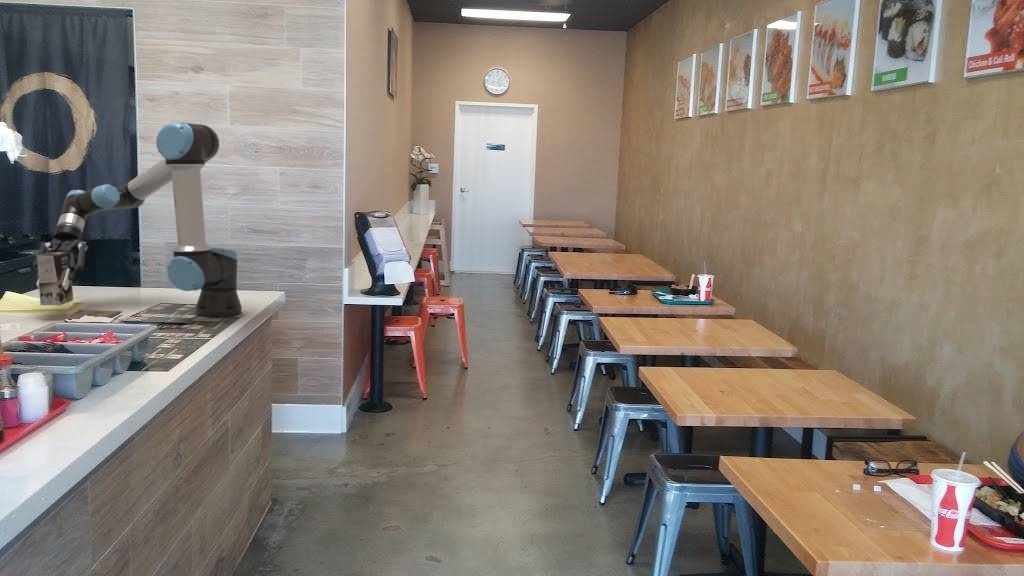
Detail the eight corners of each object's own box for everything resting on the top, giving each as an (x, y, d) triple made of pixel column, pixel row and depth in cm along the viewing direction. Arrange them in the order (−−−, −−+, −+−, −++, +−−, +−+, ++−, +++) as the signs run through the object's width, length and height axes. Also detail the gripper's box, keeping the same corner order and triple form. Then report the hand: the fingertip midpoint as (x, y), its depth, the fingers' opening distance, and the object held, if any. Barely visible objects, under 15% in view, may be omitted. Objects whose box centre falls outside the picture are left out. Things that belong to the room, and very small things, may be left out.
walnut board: (121, 314, 253) (121, 311, 253) (109, 323, 240) (109, 319, 240) (79, 313, 250) (79, 309, 250) (64, 322, 238) (64, 318, 238)
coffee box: (61, 305, 238) (57, 255, 236) (39, 305, 238) (35, 254, 235) (74, 300, 247) (70, 251, 245) (53, 299, 247) (49, 250, 244)
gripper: (104, 238, 256) (88, 294, 243) (40, 236, 253) (21, 293, 240) (98, 224, 250) (82, 281, 237) (33, 221, 246) (13, 279, 234)
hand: (51, 287), depth 239 cm, fingers closed on coffee box, 7 cm apart
